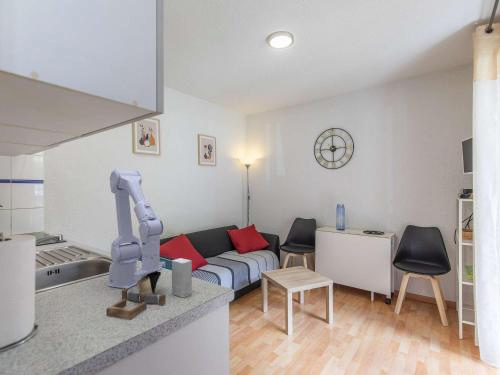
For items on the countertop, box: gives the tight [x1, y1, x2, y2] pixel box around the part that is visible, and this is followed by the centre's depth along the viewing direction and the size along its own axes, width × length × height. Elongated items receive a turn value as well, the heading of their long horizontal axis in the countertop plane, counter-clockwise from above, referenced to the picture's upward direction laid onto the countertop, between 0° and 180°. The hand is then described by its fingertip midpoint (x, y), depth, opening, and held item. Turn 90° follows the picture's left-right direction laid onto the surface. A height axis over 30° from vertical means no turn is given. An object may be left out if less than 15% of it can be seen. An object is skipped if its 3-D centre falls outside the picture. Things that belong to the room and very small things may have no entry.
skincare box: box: [171, 257, 193, 298], centre depth 93 cm, size 6×4×12 cm
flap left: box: [126, 290, 140, 303], centre depth 87 cm, size 5×1×3 cm, turn 63°
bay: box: [106, 299, 147, 321], centre depth 80 cm, size 8×7×2 cm
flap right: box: [144, 294, 160, 305], centre depth 85 cm, size 5×1×3 cm, turn 86°
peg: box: [136, 276, 154, 303], centre depth 88 cm, size 4×4×7 cm
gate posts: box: [121, 288, 166, 306], centre depth 87 cm, size 16×1×3 cm, turn 75°
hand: (150, 293), depth 91 cm, fingers closed, pressing on peg
